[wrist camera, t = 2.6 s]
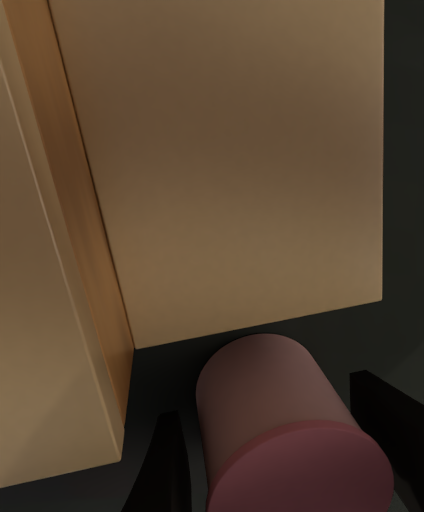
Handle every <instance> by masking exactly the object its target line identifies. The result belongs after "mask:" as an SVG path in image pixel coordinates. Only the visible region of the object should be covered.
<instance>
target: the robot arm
mask: <svg viewBox="0 0 424 512" xmlns="http://www.w3.org/2000/svg"><path fill="white" fill-rule="evenodd" d="M350 405H351V415H352V416H353V418H354V419H355V421H356V422H357V424H358V425H359V427H360V428H361V430H362V431H363V432H365V433H366V434H368V435H369V436H371V437H372V438H373V439H374V440H375V441H376V442H377V443H378V445H379V446H380V448H381V449H382V450H383V452H384V453H385V455H386V456H387V458H388V460H389V462H390V464H391V467H392V471H393V475H394V490H395V491H396V493H397V494H398V496H399V497H400V499H401V500H402V502H403V503H404V505H405V506H406V508H407V509H408V511H409V512H424V405H423V404H421V403H419V402H418V401H416V400H414V399H413V398H411V397H409V396H408V395H406V394H404V393H403V392H401V391H399V390H398V389H396V388H395V387H393V386H391V385H390V384H388V383H387V382H385V381H383V380H382V379H380V378H379V377H377V376H375V375H374V374H372V373H370V372H369V371H367V370H363V371H358V372H354V373H350ZM121 512H192V500H191V480H190V471H189V462H188V455H187V450H186V445H185V441H184V436H183V432H182V427H181V423H180V418H179V414H178V410H176V411H172V412H167V413H162V414H160V415H159V416H158V417H157V422H156V426H155V430H154V433H153V436H152V440H151V443H150V446H149V448H148V451H147V454H146V456H145V459H144V462H143V464H142V467H141V470H140V472H139V474H138V477H137V479H136V481H135V483H134V486H133V488H132V490H131V492H130V494H129V497H128V499H127V501H126V503H125V505H124V507H123V509H122V511H121Z"/></svg>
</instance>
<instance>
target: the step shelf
mask: <svg viewBox="0 0 424 512" xmlns="http://www.w3.org/2000/svg"><path fill="white" fill-rule="evenodd" d="M383 92H384V0H0V488H3V487H7V486H12V485H16V484H21V483H25V482H30V481H34V480H39V479H43V478H48V477H52V476H57V475H61V474H66V473H70V472H75V471H79V470H84V469H88V468H93V467H97V466H102V465H106V464H111V463H115V462H119V461H120V460H121V456H122V448H123V439H124V431H125V430H124V425H125V417H126V409H127V401H128V393H129V384H130V376H131V368H132V360H133V352H134V347H135V348H136V349H141V348H146V347H151V346H156V345H161V344H166V343H171V342H176V341H181V340H186V339H191V338H196V337H201V336H206V335H211V334H216V333H221V332H226V331H231V330H236V329H241V328H246V327H251V326H256V325H261V324H266V323H271V322H276V321H281V320H286V319H291V318H296V317H301V316H306V315H311V314H316V313H321V312H326V311H331V310H336V309H341V308H346V307H351V306H356V305H361V304H366V303H372V302H377V301H381V300H382V235H383Z"/></svg>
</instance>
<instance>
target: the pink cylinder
mask: <svg viewBox="0 0 424 512" xmlns="http://www.w3.org/2000/svg"><path fill="white" fill-rule="evenodd" d="M196 402H197V409H198V417H199V424H200V432H201V439H202V446H203V454H204V461H205V469H206V476H207V483H208V495H207V499H206V512H387V510H388V508H389V505H390V503H391V500H392V496H393V490H394V475H393V471H392V467H391V464H390V462H389V460H388V458H387V456H386V455H385V453H384V452H383V450H382V449H381V448H380V446H379V445H378V443H377V442H376V441H375V440H374V439H373V438H372V437H371V436H369V435H368V434H366V433H365V432H363V431H362V430H361V428H360V427H359V425H358V424H357V422H356V421H355V419H354V418H353V416H352V415H351V413H350V412H349V410H348V409H347V407H346V406H345V404H344V403H343V402H342V400H341V399H340V397H339V396H338V394H337V393H336V391H335V390H334V388H333V387H332V385H331V384H330V382H329V381H328V379H327V378H326V376H325V375H324V374H323V372H322V371H321V369H320V368H319V366H318V365H317V363H316V362H315V360H314V359H313V357H312V356H311V354H310V353H309V352H308V351H307V350H306V349H305V348H304V347H303V346H302V345H301V344H299V343H298V342H296V341H294V340H292V339H290V338H288V337H285V336H281V335H277V334H254V335H249V336H245V337H242V338H239V339H237V340H234V341H232V342H230V343H229V344H227V345H225V346H224V347H222V348H221V349H220V350H218V351H217V352H216V353H215V354H214V355H213V356H212V357H211V358H210V359H209V360H208V362H207V363H206V365H205V366H204V368H203V369H202V371H201V373H200V376H199V378H198V381H197V386H196Z"/></svg>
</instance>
